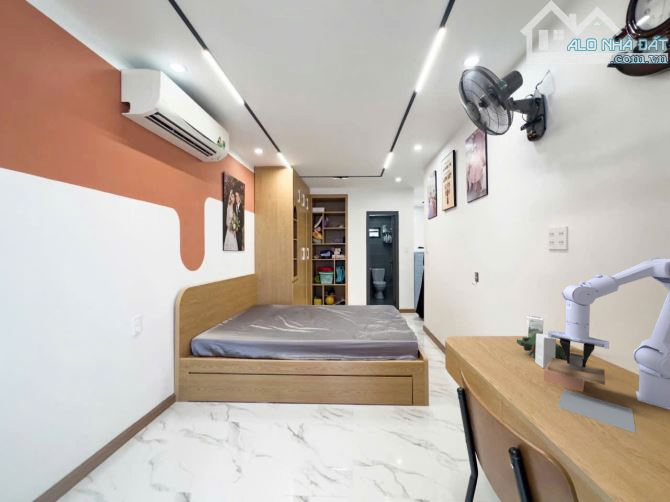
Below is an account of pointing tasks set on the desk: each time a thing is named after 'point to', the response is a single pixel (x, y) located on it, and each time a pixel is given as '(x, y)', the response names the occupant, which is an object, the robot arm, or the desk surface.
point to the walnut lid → (577, 369)
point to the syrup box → (534, 325)
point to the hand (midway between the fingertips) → (576, 364)
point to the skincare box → (544, 349)
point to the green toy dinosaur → (530, 346)
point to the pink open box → (563, 379)
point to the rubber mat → (598, 410)
